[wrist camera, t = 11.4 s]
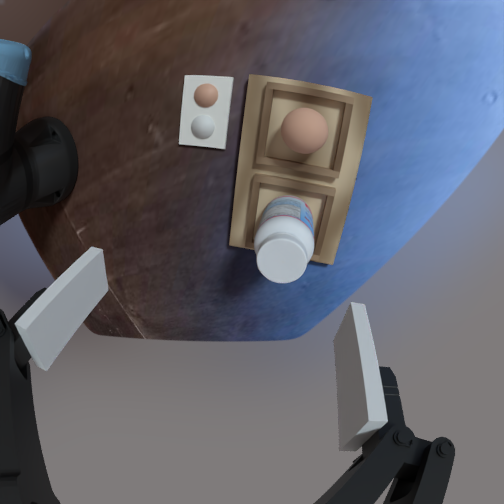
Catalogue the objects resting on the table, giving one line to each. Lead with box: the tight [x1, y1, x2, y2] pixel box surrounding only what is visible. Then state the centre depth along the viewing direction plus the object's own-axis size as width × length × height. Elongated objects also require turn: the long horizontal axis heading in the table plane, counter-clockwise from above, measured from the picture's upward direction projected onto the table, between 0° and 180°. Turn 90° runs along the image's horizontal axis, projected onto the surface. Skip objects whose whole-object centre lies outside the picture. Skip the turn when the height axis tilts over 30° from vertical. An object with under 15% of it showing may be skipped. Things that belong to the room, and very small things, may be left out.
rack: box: [229, 74, 372, 265], centre depth 34 cm, size 14×22×2 cm, turn 172°
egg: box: [281, 108, 328, 154], centre depth 29 cm, size 5×5×5 cm
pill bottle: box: [254, 195, 314, 283], centre depth 32 cm, size 6×6×11 cm
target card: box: [179, 75, 234, 149], centre depth 32 cm, size 6×9×1 cm, turn 172°
